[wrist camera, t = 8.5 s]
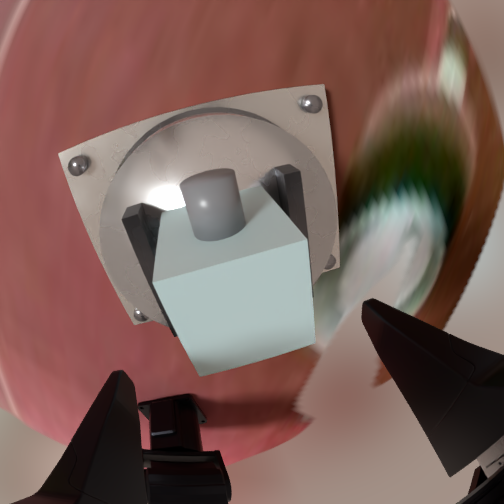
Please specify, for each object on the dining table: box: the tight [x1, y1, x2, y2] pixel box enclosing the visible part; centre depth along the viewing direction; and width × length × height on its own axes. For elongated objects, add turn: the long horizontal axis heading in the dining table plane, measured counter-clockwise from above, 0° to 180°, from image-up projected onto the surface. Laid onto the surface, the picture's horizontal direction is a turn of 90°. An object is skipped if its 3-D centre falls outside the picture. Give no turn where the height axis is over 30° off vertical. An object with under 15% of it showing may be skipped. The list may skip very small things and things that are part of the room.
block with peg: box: [152, 168, 316, 377], centre depth 12 cm, size 7×5×6 cm
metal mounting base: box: [59, 84, 340, 337], centre depth 17 cm, size 14×17×6 cm
